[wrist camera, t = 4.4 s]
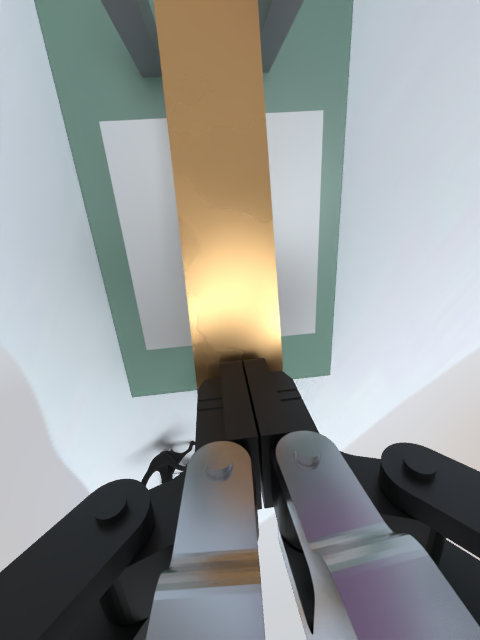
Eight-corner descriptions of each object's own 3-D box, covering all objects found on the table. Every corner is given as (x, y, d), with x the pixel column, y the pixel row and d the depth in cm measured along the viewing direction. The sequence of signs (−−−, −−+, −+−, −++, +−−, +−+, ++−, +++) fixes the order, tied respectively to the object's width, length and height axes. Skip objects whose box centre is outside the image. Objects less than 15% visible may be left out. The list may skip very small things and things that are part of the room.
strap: (154, -32, 9) (139, -104, 8) (247, -34, 10) (254, -104, 8) (207, 453, 12) (206, 484, 10) (282, 444, 12) (293, 472, 10)
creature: (249, 447, 27) (190, 409, 23) (268, 509, 23) (199, 477, 18) (185, 492, 28) (117, 464, 24) (191, 558, 24) (108, 540, 19)
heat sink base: (33, -56, 13) (-270, -495, 5) (343, -59, 14) (541, -431, 6) (136, 384, 22) (93, 498, 14) (322, 364, 23) (387, 459, 15)
